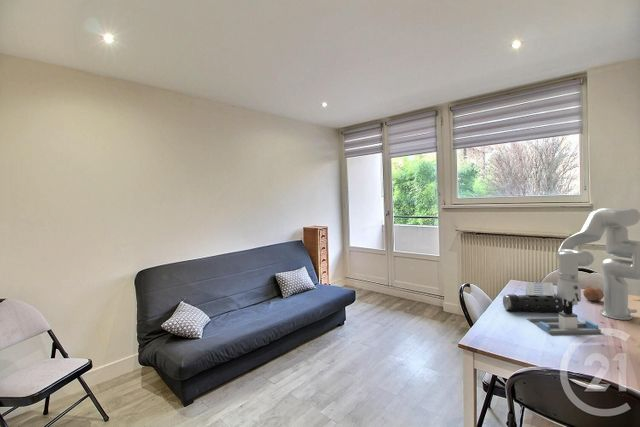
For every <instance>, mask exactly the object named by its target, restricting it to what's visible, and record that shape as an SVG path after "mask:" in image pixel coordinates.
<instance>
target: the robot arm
mask: <svg viewBox="0 0 640 427" xmlns="http://www.w3.org/2000/svg"><path fill="white" fill-rule="evenodd" d="M639 222H640V211H639V210H638V209H636V208H629V207H625V208H624V207H604V208H603V207H602V208H597V210H594V211H592V212H590V213H589V214H588V217H587V218H586V220H585V222H584V223H583V225H582V227H581V229H580V231H579V232H576V233H574V234H573V235H571V236H569V237H567V238H566V239H564V240H563V241H562V243H561V245H560V246H559V247H558V250H557V253H556V259H557V260H558V262H557V263H558V267H557V268H558V269H557V270H558V276H557V278H558V279H557V284H556V294H557V295H556V296H559V298H560V299H561V300H562V304H563V311H562V312H564V313H566V314H572V313H573V307H574V306H577V305H578V302H581V301H582V293H581V292H582V290H581V285H580V281H579V267H588V266H590V265H592V264H593V263H594V260H595V258H594V254H592V253H591V252H589V251H586V250H580V249H575V248H576V247H578V246H581V245H586V244H590V243H591V244H592V243H596V242H598V241H600V240H601V238H602V237H603V234H604V232H605V250H606V253H607V255H609V256H612V257H617V258H611V257H609V258H606V259H604V260H603V261H602V262H601V270H602V274H603V294H604V297H603V309H601V310H599V314H600V315H602V316H603V317H606V318H609V319H613V320H621V321H622V320H623V321H630V320H632V319H633V315H631V314H636V313H638V310H637V309H635V308H632V309H631V308H630V307H629V284H628V282H627V280H626V279H628V280H629V279H630V280H635V281H640V241H639V240H635V239H634V240H632V239H629V231H628V228H627V227H631V226H636V225H637V224H638V223H639ZM619 258H620V259H619ZM621 258H627V260H626V259H621ZM629 259H631V260H629Z"/></svg>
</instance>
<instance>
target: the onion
mask: <svg viewBox="0 0 640 427" xmlns="http://www.w3.org/2000/svg"><path fill="white" fill-rule="evenodd" d="M582 294H583V296H584V298H585V299H586V300H587V301H590V302H593V301H594V302H595V303H598V302H600V301H601V300H603V299H604V291H602V289H600V288H598V287H594V286H592V285H588V286H587V287H586V288H585V289H584V290H583V293H582Z"/></svg>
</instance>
